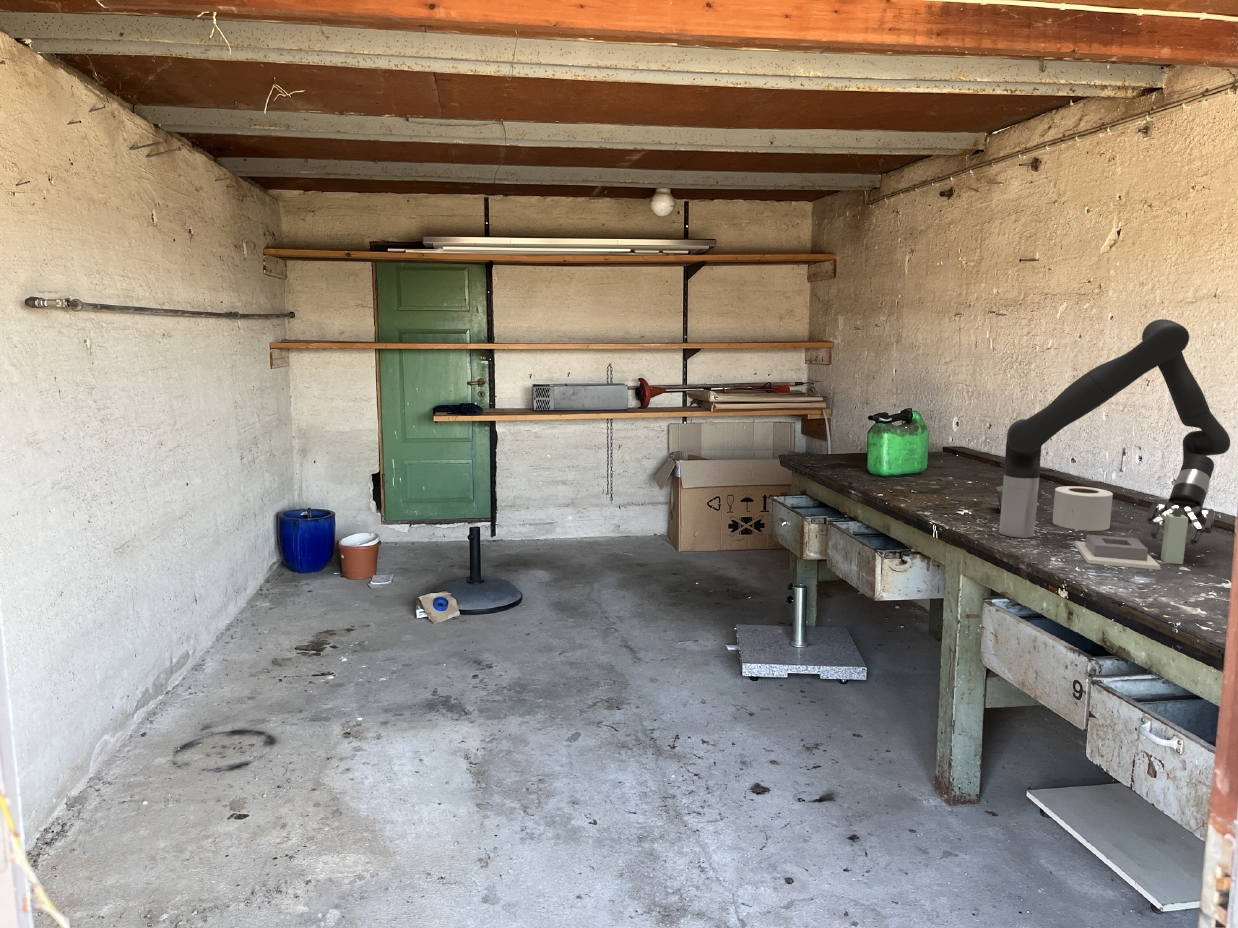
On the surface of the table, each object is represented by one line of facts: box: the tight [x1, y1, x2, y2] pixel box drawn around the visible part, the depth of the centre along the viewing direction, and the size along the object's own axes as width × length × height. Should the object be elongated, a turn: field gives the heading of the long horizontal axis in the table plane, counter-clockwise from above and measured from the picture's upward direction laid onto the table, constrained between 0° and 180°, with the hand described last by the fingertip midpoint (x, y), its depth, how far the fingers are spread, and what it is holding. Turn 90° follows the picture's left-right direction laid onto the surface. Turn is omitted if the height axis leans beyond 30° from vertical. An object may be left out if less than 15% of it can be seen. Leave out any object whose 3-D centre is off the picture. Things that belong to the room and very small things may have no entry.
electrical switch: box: [995, 485, 1003, 510], centre depth 279 cm, size 9×5×9 cm, turn 162°
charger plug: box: [1160, 508, 1189, 565], centre depth 221 cm, size 4×4×14 cm
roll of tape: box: [1052, 485, 1114, 532], centre depth 261 cm, size 16×15×11 cm
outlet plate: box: [1073, 534, 1161, 571], centre depth 226 cm, size 20×16×4 cm
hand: (1172, 540), depth 220 cm, fingers open, 8 cm apart
